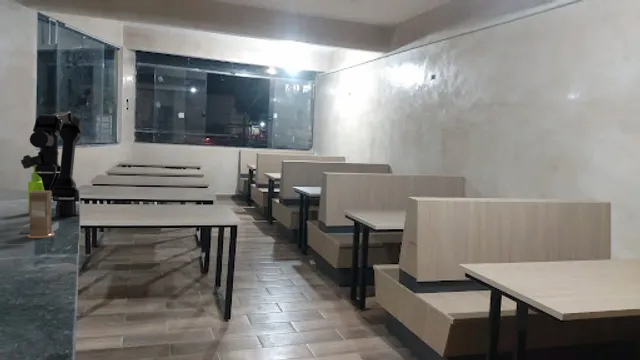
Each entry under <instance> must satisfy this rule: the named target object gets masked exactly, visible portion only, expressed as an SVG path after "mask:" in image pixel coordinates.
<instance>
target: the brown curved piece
mask: <svg viewBox="0 0 640 360" xmlns="http://www.w3.org/2000/svg"><path fill="white" fill-rule="evenodd" d="M54 236H55V232H54V231H53V232H52V233H50V234H49V235H47V236H30V233H27V238H31V239H42V238H51V237H54Z"/></svg>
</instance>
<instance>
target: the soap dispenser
mask: <svg viewBox="0 0 640 360" xmlns="http://www.w3.org/2000/svg"><path fill="white" fill-rule="evenodd" d="M35 166H36V165H35ZM35 166H32V167H31V168H33V172H31V173H30V174H31V178H30V179H31V180H29V181H28V182H27V198H28V200H27V201H28V202H27V203H28V214H29V215H30V203H29V192H32V191H44V187H43V183H42V179H41V177H40V176H39V175H37V174H36V173H40V172H35Z"/></svg>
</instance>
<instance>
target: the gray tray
mask: <svg viewBox="0 0 640 360" xmlns="http://www.w3.org/2000/svg"><path fill="white" fill-rule="evenodd" d="M59 228H60V226H59V221H52V232H53V233H54V232H55V231H56V230H57V229H59ZM22 234H30V222H29V223H28V224H25V225H24V226H22Z"/></svg>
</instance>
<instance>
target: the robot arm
mask: <svg viewBox="0 0 640 360" xmlns="http://www.w3.org/2000/svg"><path fill="white" fill-rule="evenodd" d="M32 131H33V132H32V134H31V135H30V137H29V142H30V144H31V145H32V147H34V148H37V149H39V151H38V152H37V155H36V156H35V155H34V156H31V155H29V154H28V155H24V156H22V157H23V158H22V159H21V160H20V163H21V166H22V167H23V169H24V170H26V169H31V168H33V167H32V166H35V165H36V166H35V172H39V173H36V174H37V175H39V176H40V177H41V181H42V183H43V187H44V191H51V198H52V201H53V202H56V205H55V214H54V217H55V216H56V217H59V218H60V217H61V218H69V217H76V216H79V214H78V213H77V202H80V193H79V190H78V187H77V184H76V181H75V180H74V178H73V173H74V163H75V152H76V145H77V143H78V142H79V141H80V140H81V136H82V134H83V131H84V130H83V125H82V123H81V120H80V119H79V118H77V116H75V115H74V113H73V111H72V112H71V111H69V110H60V111H57V112H55V113H53V114H44V113H43V114H42V113H39V114H38V117H36V119H35V123H34V126H33V129H32ZM59 136H60V138H61V140H62V149H61V159H60V164H59V155H60V154H59Z"/></svg>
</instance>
